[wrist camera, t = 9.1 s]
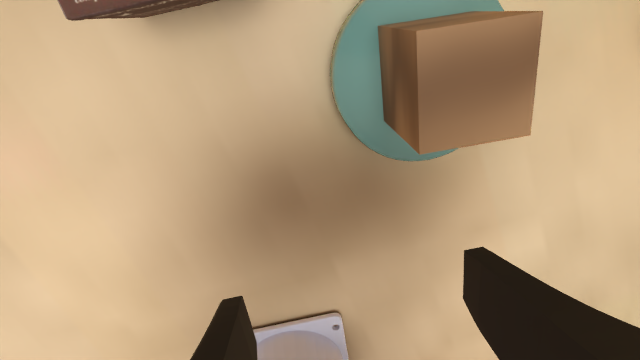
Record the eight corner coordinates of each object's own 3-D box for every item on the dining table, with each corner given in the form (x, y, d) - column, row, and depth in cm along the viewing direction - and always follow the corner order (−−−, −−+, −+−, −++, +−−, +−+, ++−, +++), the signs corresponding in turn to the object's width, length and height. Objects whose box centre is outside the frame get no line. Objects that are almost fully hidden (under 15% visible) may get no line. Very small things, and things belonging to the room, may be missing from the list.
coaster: (488, 133, 22) (508, 144, 21) (340, 161, 22) (347, 175, 20) (495, -40, 19) (520, -46, 17) (316, -10, 18) (322, -12, 16)
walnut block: (469, 106, 19) (530, 135, 15) (383, 120, 19) (419, 154, 15) (471, 11, 18) (543, 11, 13) (377, 25, 17) (416, 30, 13)
